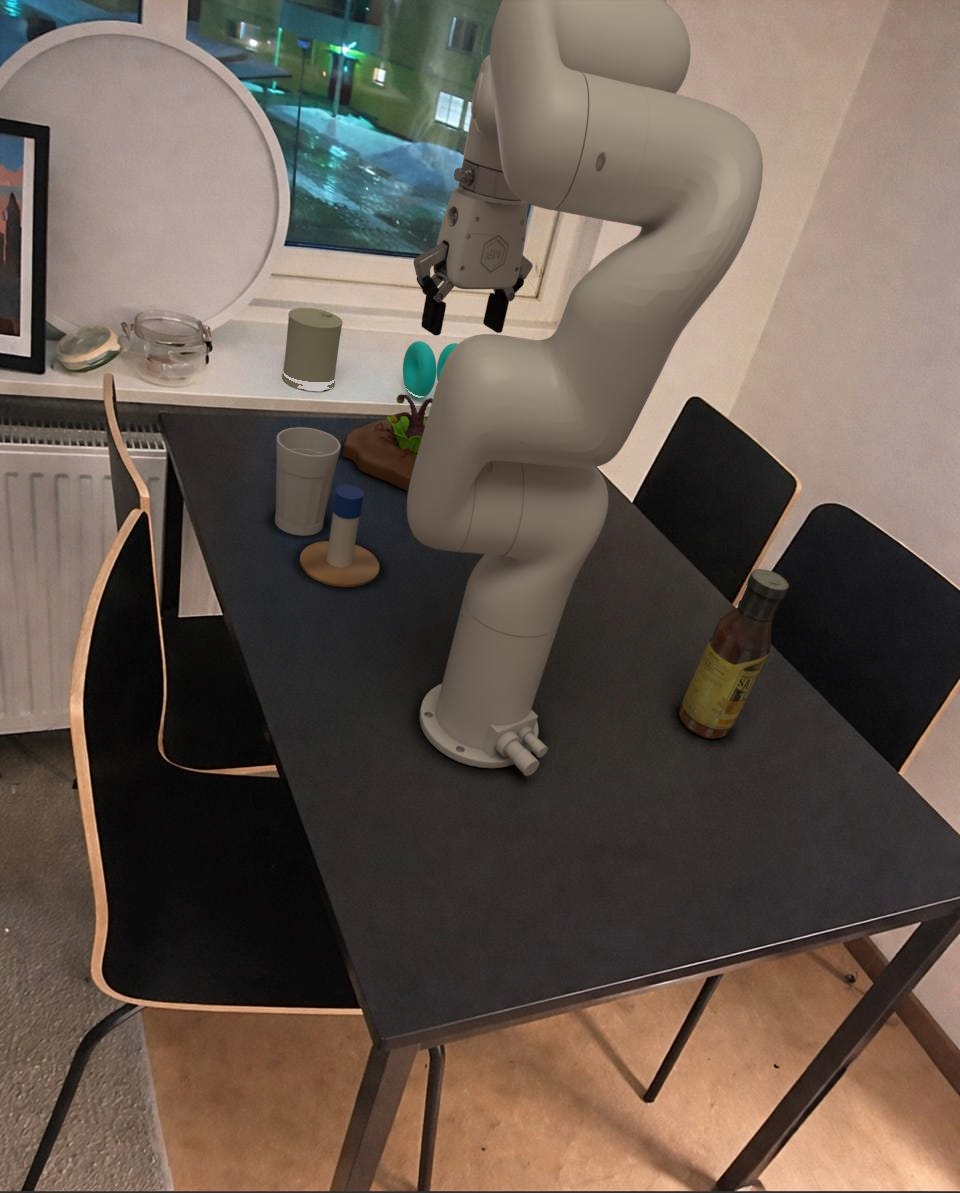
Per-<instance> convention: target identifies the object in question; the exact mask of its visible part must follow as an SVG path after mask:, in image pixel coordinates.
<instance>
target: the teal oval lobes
mask: <svg viewBox="0 0 960 1193" xmlns="http://www.w3.org/2000/svg"><path fill="white" fill-rule="evenodd" d="M458 344H459V343H457V342H453V343H449V344H447V345H446V346H445V347H443V349H442V351H441V352H440V354H439V357H438V360H436V356H435V353H434V351H433V349H432V347H431V346H430V345H429V344H428V343H426V342H425V341H422V340H416V341H414V342H412V343H411V344H410V345H408V347H407V349H406V351H405V354H404V357H403V363H402V379H403V383H404V387H405V386H406V387H405V390H406V392H407V393H408V395H410V396H411V397H412V398H414V399H419V400H421V399H422V398H418V397H415V396H413V395H412V394H410V393H409V392H408V390H409V391H410V392H412V393H413V394H415V395H418V396H426V397H427V396H428V395H430V393H431V392H432V390H433V388H434V386H435V384H436V383H435V382H436V380H437V381H438V380H439V377H440V374H441V371H442V369H443V366H444V364H445V362H446V360H447V358H448V356H449V355H450V353H451V352H452V351H453V349H454V348H455V347H456V346H457V345H458ZM406 388H407V389H408V390H407V389H406Z"/></svg>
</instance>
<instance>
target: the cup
mask: <svg viewBox="0 0 960 1193" xmlns="http://www.w3.org/2000/svg"><path fill="white" fill-rule="evenodd" d="M341 446H342V445H341V443H340V441H339V439H337V437H336V436H334V435H332V434H331V433H329V432H326V431H324V430H321V429H317V428H312V427H302V426H296V427H289V428H285V429H283V430H281V431H279V432H278V434H277V435H276V466H275V467H276V468H275V470H276V472H275V474H276V475H275V476H276V480H275V515H274V523H275V525H276V527H277V528H278V529H279V530H281V531H283V532H285V533H287V534H291V535H295V536H303V537H305V536H312V535H316V534H318V533H319V532H321V531H322V530H323V528H324V523H325V522H324V521H325V515H326V512H327V508H328V502H329V498H330V494H331V490H332V485H333V481H334V477H335V472H336V468H337V464H338V459H339V455H340V451H341Z"/></svg>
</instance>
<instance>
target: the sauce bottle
mask: <svg viewBox="0 0 960 1193" xmlns="http://www.w3.org/2000/svg"><path fill="white" fill-rule="evenodd" d="M789 586H790V585H789V583H788V581H787V580H786V578H784V577H782V575H780V574H779V573H776V572H774V571H772V570H769V569H763V568H756V569H753V570H752V571H751V573H750V575H749V577H748V579H747V583H746V588H745V590H744V592H743V594H742V596H741V598H740V600H739V601H738V603H737V607H735V608H734V609H732V610H730V611H729V612H727V613H726V614H725V615H724V616H722V617H721V618H720V619H719V621H718V622H717V624H716V626H715V629H714V631H713V634H712V636H711V638H709V640H708V641H707V644H706V647H705V649H704V651H703V653H702V655H701V658H700V660H699V662H698V664H697V666H696V669H695V671H694V674H693V676H692V678H691V680H690V683H689V684H688V687H687V689H686V691H685V694H684V695H683V698H682V703H681V705H680V707H679V711H678V713H679V718H680V721H681V723H682V724H683V726H685V728H686V729H687V730H689V731H691V732H692V733H694V734H696V736H699V737H702V738H705V739H711V740H712V739H714V740H715V739H716V740H717V739H721V738H723V737H726V736H727V734H728V733H729V732H730V731H731V729H732V727H733V726H734V725H735V723H736V722H737V719H738V717H739V716H740V713H741V711H742V709H743V707H744V705H745V703H746V701H747V699H748V697H749V695H750V693H751V691H752V689H753V687H754V685H755V683H756V681H757V678H758V677H759V674H760V672H761V671H762V669H763V667H764V664H765V663H766V660H767V658H768V656H769V654H770V652H771V643H772V627H773V619H774V618H775V615H776V613H777V609H778V607H779V605H780V603H781V601H782V600H783V599H785V597H786V595H787V592H788V590H789V588H790V587H789Z"/></svg>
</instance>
